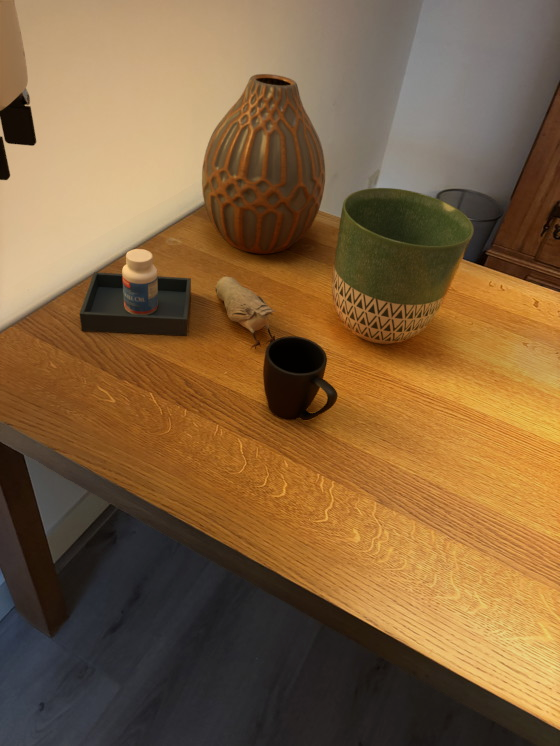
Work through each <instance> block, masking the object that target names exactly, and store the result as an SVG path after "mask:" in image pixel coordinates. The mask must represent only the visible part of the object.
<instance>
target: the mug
mask: <svg viewBox="0 0 560 746" xmlns="http://www.w3.org/2000/svg"><path fill="white" fill-rule="evenodd" d="M266 346H267V347H266V349H265V352H264V358H263V359H264V360H263V367H262V380H263V389H264V394H265V398H266V402H267V407H268V410H269V411H270V412H271V414H273V416H275V417H277V418H278V419H281V420H284V421H285V420H286V421H295V420H298V419H301V420H302V421H303V422H307V421H310V420H313V419H315V418H317V417H318V416H320V415H322V414H324V413H326V412H328V411H329V410H330V409H331V408H333V407H334V405H335V404H336V402H337V400H338V392H337V390H336V389H335V387H334V386H333V385H332V384H331V383H330V382H328V381H327V380H326V379H324V377H325V372H326V368H327V363H328V356H327V353H326V352H325V349H323V348H322V346H320V344H318V343H317V342H315V341H313V340H311V339H308V338H306V337H303V336H302V337H301V336H297V335H296V336H295V335H288V336H281V337H278V338H275V340H273V341H272V342H271V343H270V342H269V344H268V345H266ZM320 389H321V390H322V391H323V392H324V393H325V394H326V397H327V399H326V402H325V404H324V405H323V406H322V407H321V408H319V409H318V410H316V411H314V412H310V411H308V409H309V408H310V406H311V404H312V403H313V402H314V400H315V398H316V397H317V395H318V394H319V391H320Z"/></svg>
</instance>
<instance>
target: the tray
mask: <svg viewBox="0 0 560 746" xmlns="http://www.w3.org/2000/svg"><path fill="white" fill-rule="evenodd" d="M157 276H158V277H157V278H158V307H157V309H156V311H154V312H153V313H151V314H149V315H135V314H131V313H129V312H128V311H127V310H126V309H125V306H124V293H123V278H122V273H114V272H113V273H111V272H97V271H96V272H95V271H94V272H93V274H92V277H91V280H90V281H89V285H88V289H87V290H86V294H85V296H84V299H83V302H82V305H81V308H80V311H79V322H80V326H81V331H82V332H99V333H118V334H119V333H120V334H137V335H138V334H140V335H141V334H142V335H157V336H158V335H159V336H160V335H161V336H178V337H179V336H181V337H187V336H188V330H189V318H190V308H191V307H190V306H191V298H192V297H191V294H192V278H191V277H179V276H178V277H176V276H175V277H174V276H161V275H160V276H159V275H157Z"/></svg>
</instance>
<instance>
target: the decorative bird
mask: <svg viewBox="0 0 560 746" xmlns="http://www.w3.org/2000/svg"><path fill="white" fill-rule="evenodd" d="M215 293H216V298H217V299H218V300H219V301H223V302H224V308H225V310H226V314H227V317H228V318H229V320H230V321H231V322H235V323H238V324H239V325H240V326H242V327H243V328H245V329H247V330H248V331H249V332H250V333H251V334H252V337H253V339H254V341H255V344H253V345H252V346H251V347H250V350H252V349H253V348H254V349H255V350H256V349H257V347H262V343H261V339H257V337H256V333H255V332H257V331H260V330H261V329H263V328H266V329H267V333H268V335H269V337H270V339H269V340H267V341H266V342H265V345H267V344H268V343H269V344H270V343H271V342H272V341H273V340H275V339H276V334H274V335H272V333H271V329H270V325H269V319H270V317H269V316H273V315H274V314H273V313H276V310H274V309H273V308H271V307H270V306H269V305H268V304H267V302H266V301H265V299H264V298H263V297H262V296H260V295H257V293H255V292H254V291H252V290H251V289H249V288H247V287H244V286H243V285H242V284H240V283H239V281H238V280H237V279H236V278H234V277H232V276H226V275H225V276H222V277H221V278H219V280H217V282H216V285H215Z"/></svg>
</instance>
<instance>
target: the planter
mask: <svg viewBox="0 0 560 746" xmlns="http://www.w3.org/2000/svg"><path fill="white" fill-rule="evenodd" d="M474 229H475V228H474V225H473V223H472V221H471V220H470V219H469V217H468V216H467V215H466V214H465V213H464V212H462V211H461V210H459V209H458V208H457V207H455V206H453V205H451V204H450V203H447V202H446V201H443V200H441V199H439V198H436V197H434V196H431V195H427V194H424V193H421V192H416V191H412V190H407V189H401V188H394V187H372V188H364V189H360V190H357V191H354V192H352V193H350V194H349V195H347V196H346V198H344V200H343V202H342V208H341V213H340V220H339V227H338V234H337V241H336V249H335V255H334V263H333V270H332V277H331V293H332V294H331V295H332V302H333V306H334V310H335V312H336V314H337V316H338V317H339V319H340V321H341V322H342V324H343V325H344V326H345V327H346V328H347V329H348V330H349V331H350V332H351V333H353V334H354V335H356V336H357V337H358V338H361V339H362V340H364V341H368V342H370V343H374V344H380V345H381V344H382V345H389V344H396V343H401V342H405V341H406V340H409V339H412V338H414V337H416V336H418V335H419V334H420V333H421V332H423V331H424V330H425V329H426V328H427V327H428V326H429V325H430V324H431V322H432V321H433V320H434V318H435V317H436V315H437V314H438V312H439V311H440V309H441V307H442V305H443V303H444V301H445V299H446V296H447V294H448V292H449V290H450V288H451V285H452V284H453V282H454V279H455V276H456V274H457V272H458V270H459V268H460V265H461V264H462V261H463V259H464V257H465V255H466V252H467V250H468V249H469V245H470V243H471V241H472V239H473V235H474V232H475V230H474Z"/></svg>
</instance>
